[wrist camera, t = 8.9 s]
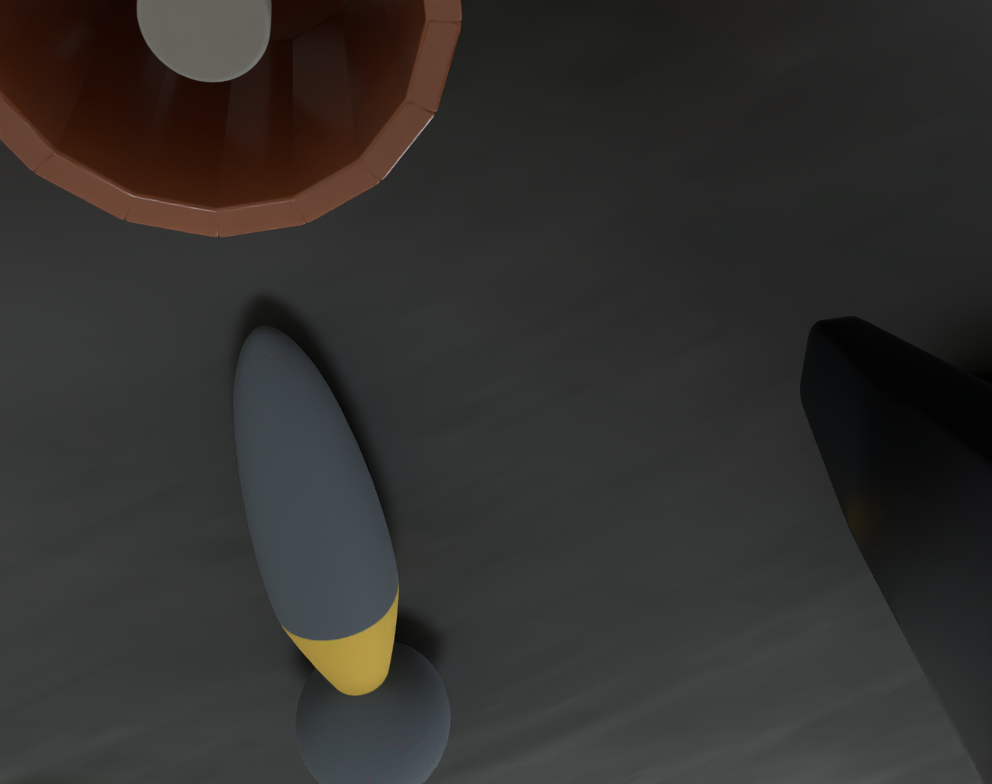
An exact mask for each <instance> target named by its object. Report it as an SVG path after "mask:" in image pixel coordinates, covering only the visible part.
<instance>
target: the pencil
mask: <svg viewBox="0 0 992 784" xmlns="http://www.w3.org/2000/svg"><path fill="white" fill-rule="evenodd" d="M271 11H272V10H271V0H137V18H138V23H139V27H140V30H141V32H142V35H143V37H144V39H145V41H146V43H147V45H148V46H149V48H150V49H151V50H152V52H153V53H154V54H155V55H156V56H157V58H158V59H159V60H161V61H162V62H163V63H164V64H165V65H166V66H168V67H169V68H170V69H172V70H173V71H175V72H177V73H179V74H181V75H183V76H185V77H188V78H190V79H194V80H198V81H204V82H222V81H227V80H231V79H234V78H237V77H239V76H241V75H243V74H245V73H246V72H247V71H249V70H250V69H251V68H252V67H254V66H255V65H256V64H257V62H258V61H259V60H260V59H261V57H262V55H263V54H264V52H265V50H266V47H267V45H268V41H269V37H270V29H271Z"/></svg>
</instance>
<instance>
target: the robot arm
mask: <svg viewBox="0 0 992 784" xmlns="http://www.w3.org/2000/svg"><path fill="white" fill-rule="evenodd" d="M800 394H801V401H802V405H803V408H804V411H805V414H806V416H807V419H808V422H809V424H810V427H811V430H812V432H813V435H814V437H815V440H816V443H817V445H818V448H819V451H820V453H821V456H822V459H823V461H824V464H825V467H826V469H827V472H828V475H829V477H830V480H831V483H832V485H833V488H834V490H835V493H836V496H837V498H838V501H839V504H840V506H841V509H842V512H843V514H844V516H845V519H846V521H847V524H848V526H849V529H850V531H851V533H852V535H853V537H854V539H855V541H856V543H857V545H858V547H859V549H860V551H861V553H862V555H863V557H864V559H865V561H866V563H867V565H868V567H869V569H870V571H871V573H872V574H873V576H874V578H875V580H876V582H877V584H878V586H879V588H880V590H881V592H882V594H883V595H884V597H885V599H886V601H887V603H888V605H889V607H890V609H891V611H892V613H893V615H894V617H895V618H896V620H897V622H898V624H899V626H900V628H901V630H902V632H903V634H904V636H905V638H906V640H907V641H908V643H909V645H910V647H911V649H912V651H913V653H914V655H915V657H916V659H917V661H918V663H919V664H920V666H921V668H922V670H923V672H924V674H925V676H926V678H927V680H928V682H929V684H930V686H931V687H932V689H933V691H934V693H935V695H936V697H937V699H938V701H939V703H940V705H941V707H942V708H943V710H944V712H945V714H946V716H947V718H948V720H949V722H950V724H951V726H952V728H953V730H954V731H955V733H956V735H957V737H958V739H959V741H960V743H961V745H962V747H963V749H964V751H965V753H966V754H967V756H968V758H969V760H970V762H971V764H972V766H973V768H974V770H975V772H976V774H977V776H978V777H979V779H980V781H981V783H982V784H992V376H990V377H984V378H977V377H975V376H973V375H971V374H969V373H967V372H965V371H964V370H962V369H960V368H958V367H956V366H954V365H952V364H950V363H948V362H946V361H944V360H942V359H940V358H938V357H936V356H934V355H932V354H930V353H928V352H926V351H924V350H922V349H920V348H918V347H916V346H914V345H912V344H910V343H908V342H906V341H904V340H902V339H900V338H898V337H896V336H894V335H892V334H890V333H888V332H886V331H884V330H882V329H880V328H879V327H877V326H875V325H873V324H871V323H869V322H867V321H865V320H863V319H860V318H858V317H855V316H846V317H839V318H833V319H827V320H820V321H818V322H816V323H815V324H814V325H813V326H812V328H811V329H810V332H809V336H808V342H807V347H806V353H805V359H804V365H803V371H802V376H801V383H800Z"/></svg>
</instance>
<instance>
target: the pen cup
mask: <svg viewBox="0 0 992 784" xmlns="http://www.w3.org/2000/svg"><path fill="white" fill-rule="evenodd" d="M271 10H272V11H271V29H270V37H269V41H268V45H267V47H266V50H265V52H264V54H263V55H262V57H261V59H260V60H259V61H258V62H257V64H256V65H255V66H254V67H252V68H251V69H250V70H249V71H247V72H246V73H245V74H243V75H241V76H239V77H237V78H234V79H231V80H227V81H222V82H204V81H198V80H194V79H190V78H188V77H185V76H183V75H181V74H179V73H177V72H175V71H173V70H172V69H170V68H169V67H168V66H166V65H165V64H164V63H163V62H162V61H161V60H159V59H158V58H157V56H156V55H155V54H154V53H153V52H152V50H151V49H150V48H149V46H148V45H147V43H146V41H145V39H144V37H143V35H142V32H141V30H140V27H139V23H138V18H137V0H0V140H1V141H2V142H3V143H4V144H5V145H6V146H7V147H8V148H9V149H10V150H11V151H12V152H13V153H14V154H15V155H16V156H17V157H18V158H19V159H20V160H21V161H22V162H23V163H24V164H25V165H26V166H27V167H28V168H29V169H30V170H31V171H35V173H36V174H37V175H38V176H40V177H42V178H44V179H46V180H48V181H50V182H51V183H53V184H55V185H57V186H59V187H61V188H63V189H65V190H66V191H68V192H70V193H72V194H74V195H76V196H78V197H80V198H82V199H83V200H85V201H87V202H89V203H91V204H93V205H95V206H97V207H99V208H100V209H102V210H104V211H106V212H108V213H110V214H112V215H114V216H115V217H117V218H119V219H122V220H124V219H126V221H128V222H132V223H138V224H143V225H149V226H154V227H160V228H166V229H171V230H177V231H182V232H188V233H193V234H199V235H205V236H210V237H217V236H218V235H219V237H228V236H234V235H241V234H247V233H254V232H260V231H267V230H273V229H280V228H286V227H293V226H299V225H303V224H305V222H307V223H310V222H311V221H313V220H315V219H317V218H319V217H320V216H322V215H324V214H326V213H327V212H329V211H331V210H333V209H335V208H336V207H338V206H340V205H342V204H343V203H345V202H347V201H349V200H351V199H352V198H354V197H356V196H358V195H359V194H361V193H363V192H365V191H367V190H368V189H370V188H372V187H374V186H375V185H377V184H379V182H380V180H383V179H385V177H386V176H387V175H388V174H389V172H390V171H391V170H392V169H393V167H394V166H395V165H396V164H397V162H398V161H399V160H400V158H401V157H402V156H403V155H404V153H405V152H406V151H407V150H408V148H409V147H410V146H411V145H412V143H413V142H414V141H415V140H416V138H417V137H418V136H419V135H420V133H421V132H422V131H423V130H424V128H425V127H426V126H427V125H428V123H429V122H430V121H431V120H432V118H433V117H434V115H435V112H436V111H437V109H438V107H439V104H440V100H441V97H442V93H443V90H444V86H445V83H446V80H447V76H448V73H449V69H450V66H451V62H452V59H453V55H454V52H455V48H456V45H457V41H458V38H459V34H460V31H461V27H462V22H461V20H462V17H463V14H462V4H461V0H271Z"/></svg>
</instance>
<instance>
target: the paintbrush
mask: <svg viewBox="0 0 992 784" xmlns="http://www.w3.org/2000/svg"><path fill="white" fill-rule="evenodd" d="M233 416H234V434H235V445H236V455H237V462H238V470H239V477H240V485H241V490H242V496H243V501H244V507H245V512H246V517H247V523H248V527H249V531H250V535H251V539H252V544H253V548H254V552H255V556H256V560H257V563H258V566H259V569H260V573H261V576H262V579H263V582H264V585H265V588H266V591H267V594H268V597H269V599H270V602H271V605H272V607H273V610H274V612H275V614H276V616H277V618H278V620H279V622H280V623H281V625H282V627H283V628H284V630H285V631H286V632H287V634H288V635H289V636H290V638H291V639H292V640H293V641H294V643H295V644H296V645H297V646H298V648H299V649H300V650H301V651H302V652H303V654H304V655H305V656H306V657H307V658H308V659H309V660H310V662H311V663H312V664H313V665H314V666H315V667H316V668H315V669H314V670H313V672H312V673H311V675H310V676H309V678H308V680H307V682H306V683H305V686H304V688H303V691H302V693H301V696H300V700H299V704H298V708H297V715H296V736H297V743H298V747H299V751H300V754H301V757H302V759H303V762H304V763H305V765H306V767H307V769H308V770H309V772H310V773H311V775H312V776H313V777H314V778H315V779H316V780H317V781H318V782H319V783H320V784H423V783H424V782H425V781H426V780H427V779H428V778H429V776H430V775H431V774H432V772H433V771H434V769H435V768H436V767H437V765H438V763H439V761H440V759H441V757H442V755H443V752H444V750H445V747H446V744H447V741H448V736H449V730H450V706H449V700H448V696H447V692H446V689H445V686H444V684H443V682H442V680H441V678H440V676H439V674H438V672H437V671H436V669H435V668H434V666H433V665H432V664H431V663H430V662H429V661H428V660H427V658H426V657H425V656H423V655H422V654H421V653H419V652H418V651H416V650H415V649H413V648H412V647H409V646H407V645H405V644H402V643H399V642H394V636H395V628H396V620H397V607H398V594H399V582H398V571H397V565H396V561H395V556H394V551H393V547H392V543H391V539H390V535H389V532H388V528H387V524H386V521H385V517H384V514H383V511H382V508H381V505H380V502H379V499H378V496H377V493H376V490H375V487H374V484H373V481H372V479H371V476H370V474H369V471H368V469H367V466H366V464H365V461H364V459H363V456H362V454H361V451H360V449H359V446H358V444H357V442H356V440H355V437H354V435H353V433H352V431H351V429H350V427H349V425H348V423H347V420H346V418H345V416H344V414H343V412H342V410H341V408H340V406H339V404H338V403H337V401H336V399H335V397H334V395H333V393H332V392H331V390H330V388H329V386H328V385H327V383H326V381H325V380H324V378H323V377H322V375H321V374H320V372H319V371H318V369H317V368H316V366H315V365H314V364H313V362H312V361H311V360H310V358H309V357H308V356H307V355H306V354H305V352H304V351H303V350H302V349H301V348H300V347H299V346H298V345H297V344H296V343H295V342H294V341H293V340H292V339H291V338H290V337H288V336H287V335H286V334H284V333H283V332H281V331H280V330H278V329H276V328H273V327H270V326H260V327H257V328H256V329H254V330H253V331H252V332H250V334H249V335H248V336H247V338H246V340H245V342H244V344H243V346H242V349H241V351H240V355H239V358H238V362H237V366H236V373H235V380H234V391H233Z"/></svg>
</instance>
